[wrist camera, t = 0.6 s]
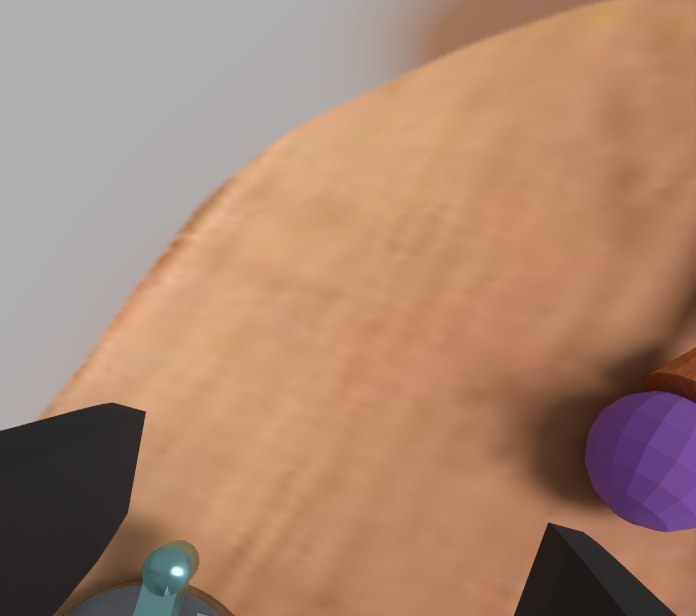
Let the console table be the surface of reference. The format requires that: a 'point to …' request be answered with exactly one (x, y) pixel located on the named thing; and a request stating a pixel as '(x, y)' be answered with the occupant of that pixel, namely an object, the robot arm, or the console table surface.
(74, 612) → the post plate
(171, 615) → the teal ball-top lever
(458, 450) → the console table surface
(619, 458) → the purple maraca
